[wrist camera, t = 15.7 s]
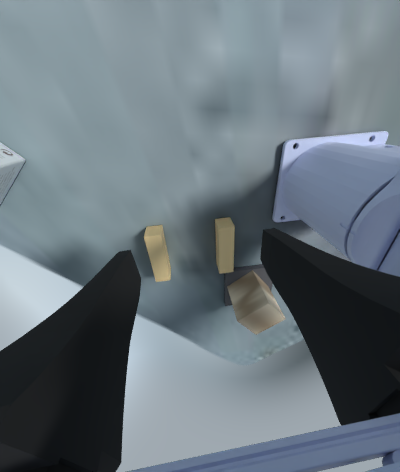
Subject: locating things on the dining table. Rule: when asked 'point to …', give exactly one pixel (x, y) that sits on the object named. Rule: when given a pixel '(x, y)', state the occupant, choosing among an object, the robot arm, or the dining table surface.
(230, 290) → the plug block
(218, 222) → the pair of wooden bars
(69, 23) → the dining table surface
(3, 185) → the skincare box
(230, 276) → the rubber mat
